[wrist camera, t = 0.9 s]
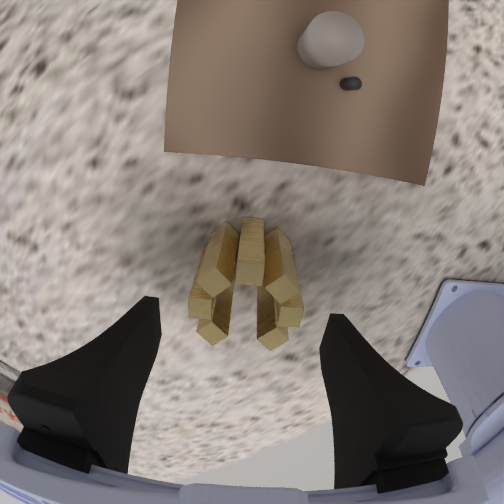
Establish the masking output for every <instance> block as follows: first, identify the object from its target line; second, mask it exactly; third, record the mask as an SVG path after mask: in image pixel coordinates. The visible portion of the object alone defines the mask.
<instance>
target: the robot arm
mask: <svg viewBox="0 0 504 504" xmlns="http://www.w3.org/2000/svg"><path fill="white" fill-rule="evenodd" d="M453 287H454V288H453ZM161 335H162V333H161V322H160V310H159V298H157V297H149V296H144V297H143V298H142V299H141V300H140V301H139V302H138V303H136V304H135V305H134V306H133V307H132V308H131V309H130V310H129V311H128V312H127V313H126V314H125V315H123V316H122V317H121V318H120V319H119V320H118V321H117V322H115V323H114V324H113V325H112V326H111V327H109V328H108V329H107V330H106V331H104V332H103V333H102V334H101V335H99V336H98V337H96V338H95V339H94V340H92V341H90V342H89V343H87V344H86V345H84V346H83V347H81V348H79V349H77V350H75V351H73V352H72V353H70V354H68V355H66V356H64V357H62V358H60V359H57V360H55V361H53V362H50V363H48V364H45V365H42V366H39V367H36V368H33V369H30V370H26V371H22V372H21V374H20V375H19V377H18V378H17V380H16V382H15V383H14V385H13V387H12V388H11V390H10V392H9V394H8V396H7V400H8V404H9V406H10V407H11V409H12V411H13V412H14V414H15V415H16V417H17V418H18V419H19V421H20V422H21V424H22V425H23V426H24V427H23V429H22V431H21V432H20V431H18V430H17V429H16V428H14V427H12V426H10V425H8V424H5V423H3V422H1V421H0V490H2V491H3V492H5V493H7V494H8V495H10V496H12V497H14V498H16V499H17V500H19V501H21V502H23V503H25V504H504V284H500V283H487V282H475V281H463V280H451V279H449V280H446V281H445V282H443V284H442V286H441V288H440V290H439V293H438V295H437V298H436V300H435V302H434V304H433V307H432V309H431V311H430V313H429V316H428V318H427V320H426V322H425V324H424V326H423V328H422V330H421V332H420V334H419V336H418V338H417V340H416V342H415V344H414V346H413V348H412V350H411V352H410V354H409V356H408V358H407V360H406V365H407V366H408V367H424V366H433V367H434V369H435V371H436V373H437V375H438V376H439V379H440V381H441V383H442V385H443V387H444V389H445V391H446V394H447V396H448V398H449V400H450V402H451V404H450V403H448V402H446V401H444V400H442V399H439V398H437V397H435V396H434V395H432V394H430V393H428V392H427V391H425V390H423V389H421V388H420V387H418V386H417V385H415V384H414V383H412V382H411V381H410V380H408V379H407V378H406V377H404V376H403V375H402V374H400V373H399V372H398V371H397V370H396V369H394V368H393V367H392V366H391V365H390V364H389V363H388V362H386V361H385V360H384V359H383V358H382V357H381V356H380V355H379V354H378V353H377V352H376V351H375V349H374V348H373V347H372V346H371V345H370V344H369V343H368V342H367V341H366V340H365V338H364V337H363V336H362V335H361V334H360V333H359V331H358V330H357V329H356V328H355V327H354V326H353V324H352V323H351V322H350V321H349V320H348V318H347V317H346V316H345V315H344V314H332V313H330V316H329V319H328V322H327V326H326V329H325V332H324V335H323V339H322V342H321V345H320V348H319V349H320V361H321V370H322V374H323V379H324V383H325V388H326V392H327V397H328V401H329V406H330V410H331V416H332V426H333V437H334V456H335V457H334V459H335V460H334V462H335V480H334V481H335V482H334V483H335V484H334V489H333V490H318V491H302V490H299V489H294V488H269V487H268V488H266V487H241V486H227V485H226V486H225V485H215V484H196V483H195V484H190V485H181V484H174V483H169V482H163V481H157V480H152V479H147V478H142V477H138V476H133V475H129V474H128V465H129V457H130V450H131V443H132V437H133V432H134V427H135V422H136V417H137V412H138V408H139V403H140V400H141V397H142V394H143V391H144V388H145V385H146V383H147V380H148V377H149V375H150V372H151V369H152V366H153V364H154V361H155V358H156V356H157V352H158V348H159V344H160V339H161ZM461 430H463V432H464V434H465V437H466V439H465V441H464V442H463V443H462V444H460V446H459V448H460V451H461V454H462V456H463V457H462V458H459V459H456V460H453V461H451V462H449V463H447V464H446V462H445V459H444V458H446V457H447V455H448V454H447V451H446V447H447V446H448V445H449V444H450V443H451V442H452V441H453V440H454V439H455V438H456V437H457V436H458V434H459V433H460V432H461Z"/></svg>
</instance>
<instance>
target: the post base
mask: <svg viewBox="0 0 504 504" xmlns="http://www.w3.org/2000/svg"><path fill="white" fill-rule="evenodd" d="M448 6H449V0H178V1H177V8H176V15H175V22H174V30H173V39H172V47H171V57H170V67H169V78H168V90H167V104H166V120H165V141H164V152H176V153H194V154H208V155H221V156H233V157H244V158H254V159H263V160H272V161H281V162H289V163H297V164H304V165H312V166H318V167H325V168H332V169H338V170H344V171H350V172H356V173H362V174H368V175H373V176H379V177H384V178H389V179H394V180H399V181H404V182H409V183H414V184H418V185H423V186H425V181H426V177H427V173H428V168H429V164H430V159H431V155H432V150H433V145H434V139H435V134H436V128H437V123H438V117H439V110H440V104H441V97H442V89H443V81H444V72H445V62H446V50H447V35H448Z"/></svg>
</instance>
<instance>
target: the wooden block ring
mask: <svg viewBox="0 0 504 504" xmlns="http://www.w3.org/2000/svg"><path fill="white" fill-rule="evenodd" d="M238 236H239V234H238V233H237V232H236V231H235V230H234V229H233V228H232V227H231V225H230V224H229V223H228V222H227V221H226V222H225V223H224V224H223V225H221V226H220V227H219V228H218V229H216V230H215V231H214V232H212V234H211V237H210V240H209V243H208V246H205V247H204V250H203V253H202V256H201V259H200V263H199V266H198V269H197V272H196V275H195V278H194V281H193V285H192V288H191V291H190V294H189V297H188V299H189V317H191V318H199V322H198V326H197V331H196V332H197V333H198V334H199V335H201V336H202V337H203V338H204V339H205V340H206V341H208V342H209V343H210V344H211V345H212V346H213V345H214V344H216V343H218V342H219V341H221V340H223V339H225V338H226V337H228V332H229V323H230V315H231V306H232V297H233V289H234V280H235V279H234V278H233V274H234V267H235V259H236V251H237V244H238ZM263 275H264V277H263ZM235 284H243V285H253V286H257V340H259V341H260V342H261V343H262V344H263V345H264V346H265V347H266V348H267V349H269V350H270V351H271V350H272V349H274V348H276V347H278V346H280V345H281V344H283V343H285V342H287V341H288V340H289V338H288V328H287V327H300V323H301V319H302V314H303V310H304V306H303V301H302V295H301V290H300V285H299V280H298V275H297V270H296V265H295V260H294V255H292V250H291V245H290V241H289V239H288V238H287V237H286V236H285V235H284V233H283V232H282V231H281V230H280V229H279V227H276V228H275V229H273V230H272V231H271V232H269V233H268V234H267V235H265V236H264V227H263V219H259V218H249V217H243V218H242V226H241V235H240V243H239V251H238V260H237V270H236V281H235Z"/></svg>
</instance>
